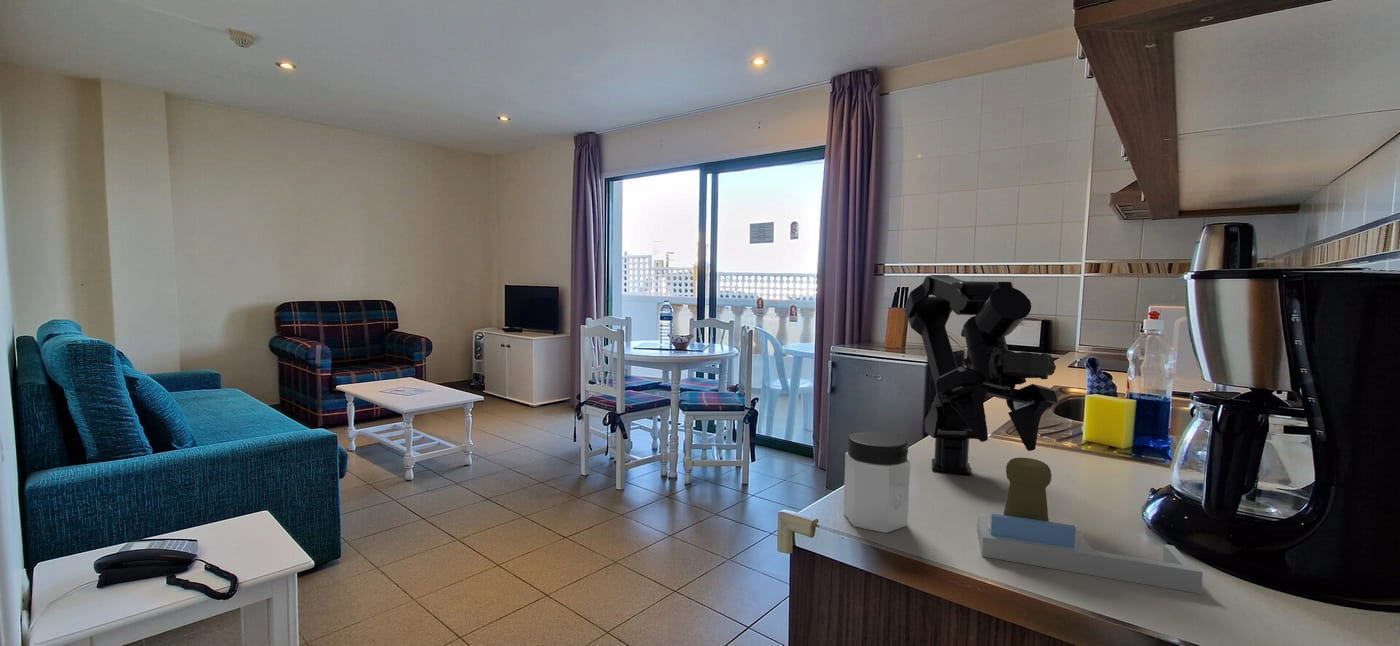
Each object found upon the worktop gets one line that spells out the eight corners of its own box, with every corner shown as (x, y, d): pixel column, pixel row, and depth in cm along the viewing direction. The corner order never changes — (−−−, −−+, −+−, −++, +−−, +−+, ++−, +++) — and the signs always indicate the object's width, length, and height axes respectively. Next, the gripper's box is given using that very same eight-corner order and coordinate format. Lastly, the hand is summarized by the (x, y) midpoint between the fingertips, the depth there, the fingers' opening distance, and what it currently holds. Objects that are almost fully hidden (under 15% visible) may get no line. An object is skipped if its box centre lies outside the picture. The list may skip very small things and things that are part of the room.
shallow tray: (976, 528, 80) (978, 493, 80) (1169, 558, 72) (1172, 519, 72) (982, 556, 72) (984, 517, 72) (1200, 593, 64) (1204, 550, 63)
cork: (1012, 527, 80) (1016, 450, 79) (1059, 544, 75) (1064, 462, 74) (990, 538, 76) (994, 457, 76) (1038, 556, 71) (1043, 470, 71)
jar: (877, 538, 77) (880, 450, 76) (832, 517, 84) (834, 436, 83) (918, 523, 82) (922, 441, 81) (872, 504, 88) (875, 428, 88)
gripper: (981, 315, 82) (1004, 419, 75) (1075, 342, 88) (1105, 441, 80) (927, 346, 91) (942, 441, 84) (1015, 368, 97) (1037, 459, 90)
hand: (1008, 445), depth 84 cm, fingers open, 9 cm apart
